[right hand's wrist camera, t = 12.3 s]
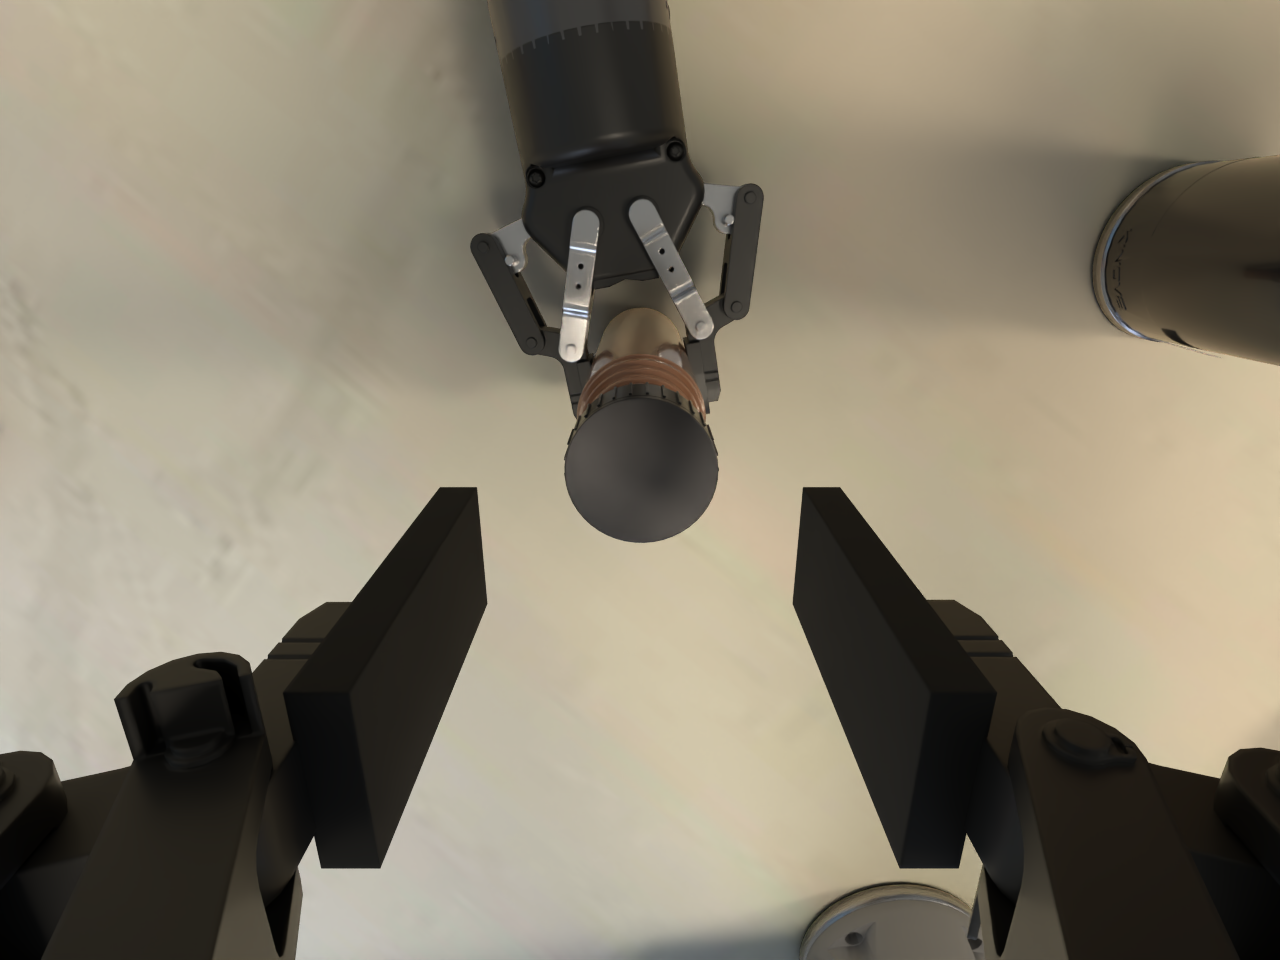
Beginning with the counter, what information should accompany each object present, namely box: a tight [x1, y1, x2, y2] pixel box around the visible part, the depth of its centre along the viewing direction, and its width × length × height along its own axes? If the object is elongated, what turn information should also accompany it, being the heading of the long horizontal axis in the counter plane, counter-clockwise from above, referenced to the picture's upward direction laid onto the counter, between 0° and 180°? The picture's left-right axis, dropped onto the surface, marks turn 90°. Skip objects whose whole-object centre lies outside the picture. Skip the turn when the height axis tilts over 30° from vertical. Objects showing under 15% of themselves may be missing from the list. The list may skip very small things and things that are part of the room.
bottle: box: [577, 307, 706, 421], centre depth 30 cm, size 5×5×22 cm
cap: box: [564, 382, 719, 543], centre depth 20 cm, size 4×4×2 cm
